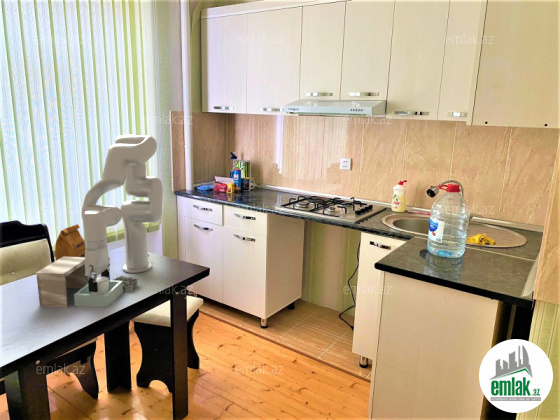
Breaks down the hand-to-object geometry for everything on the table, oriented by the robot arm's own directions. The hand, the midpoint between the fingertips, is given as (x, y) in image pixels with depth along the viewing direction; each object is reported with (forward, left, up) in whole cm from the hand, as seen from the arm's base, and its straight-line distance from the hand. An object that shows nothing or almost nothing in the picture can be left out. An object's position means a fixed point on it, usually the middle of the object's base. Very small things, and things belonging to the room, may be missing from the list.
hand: (99, 286), depth 156 cm
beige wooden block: (0, -13, -5) cm, 14 cm away
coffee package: (-20, -21, -5) cm, 29 cm away
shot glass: (0, 0, -5) cm, 4 cm away
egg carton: (-11, +4, -5) cm, 13 cm away
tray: (0, 0, -5) cm, 5 cm away
